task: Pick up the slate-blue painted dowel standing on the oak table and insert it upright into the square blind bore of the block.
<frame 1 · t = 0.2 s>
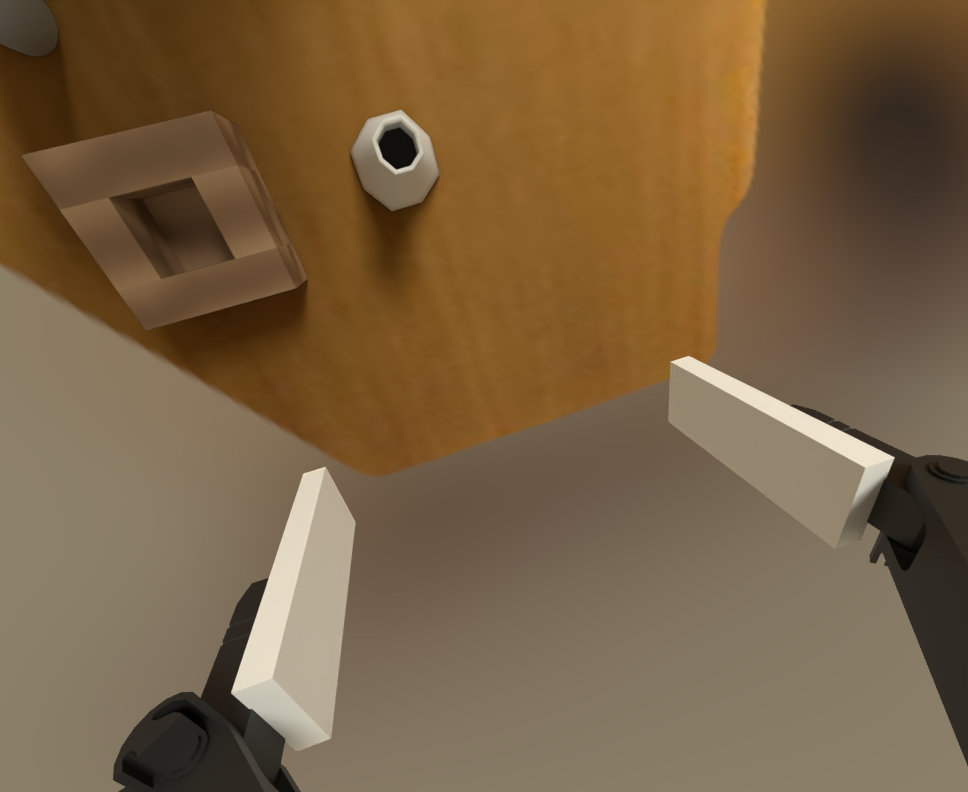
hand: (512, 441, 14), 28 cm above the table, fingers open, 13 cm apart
dowel: (18, 16, 24), on the table
flask: (396, 163, 33), on the table
bore block: (205, 227, 32), on the table
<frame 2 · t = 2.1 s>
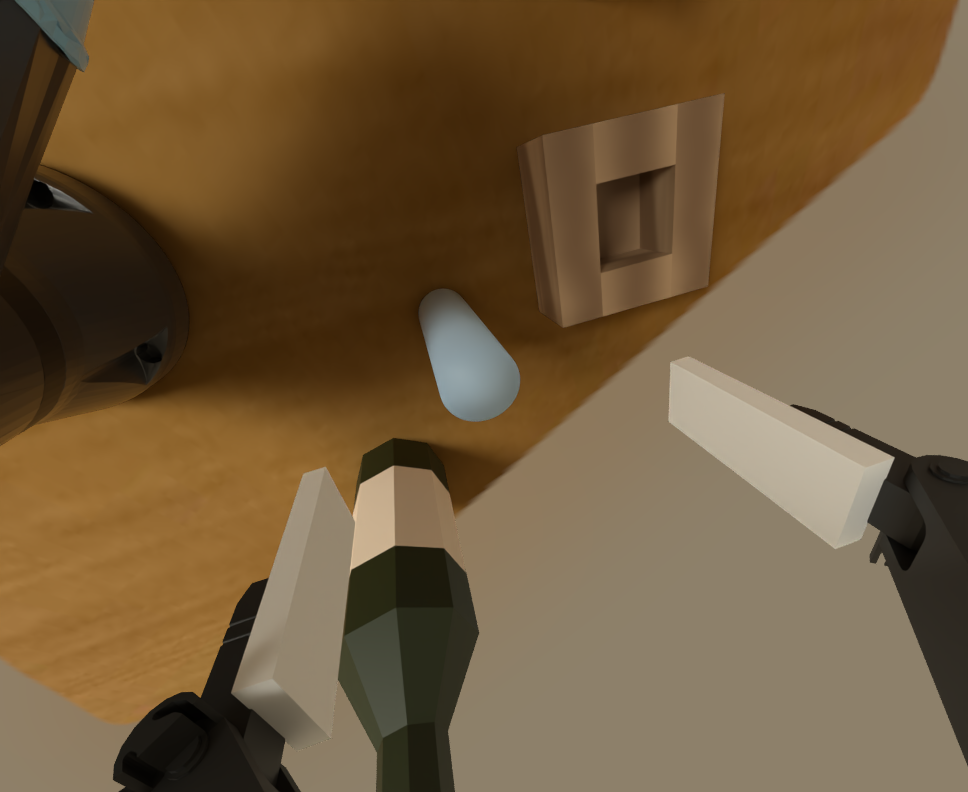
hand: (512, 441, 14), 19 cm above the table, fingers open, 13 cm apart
dowel: (443, 313, 30), on the table
wine bottle: (401, 472, 36), on the table
bore block: (600, 219, 30), on the table
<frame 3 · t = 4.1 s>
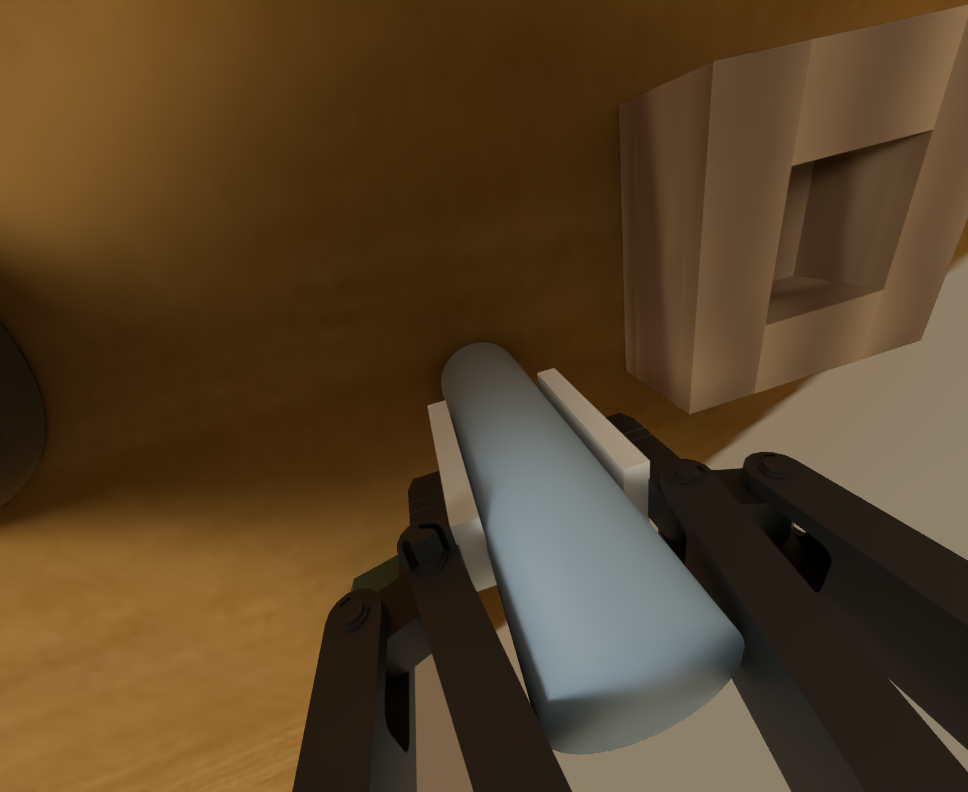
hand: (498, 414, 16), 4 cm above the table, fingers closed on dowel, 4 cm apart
dowel: (480, 380, 19), on the table, touching gripper
wine bottle: (409, 594, 25), on the table
bore block: (735, 229, 18), on the table
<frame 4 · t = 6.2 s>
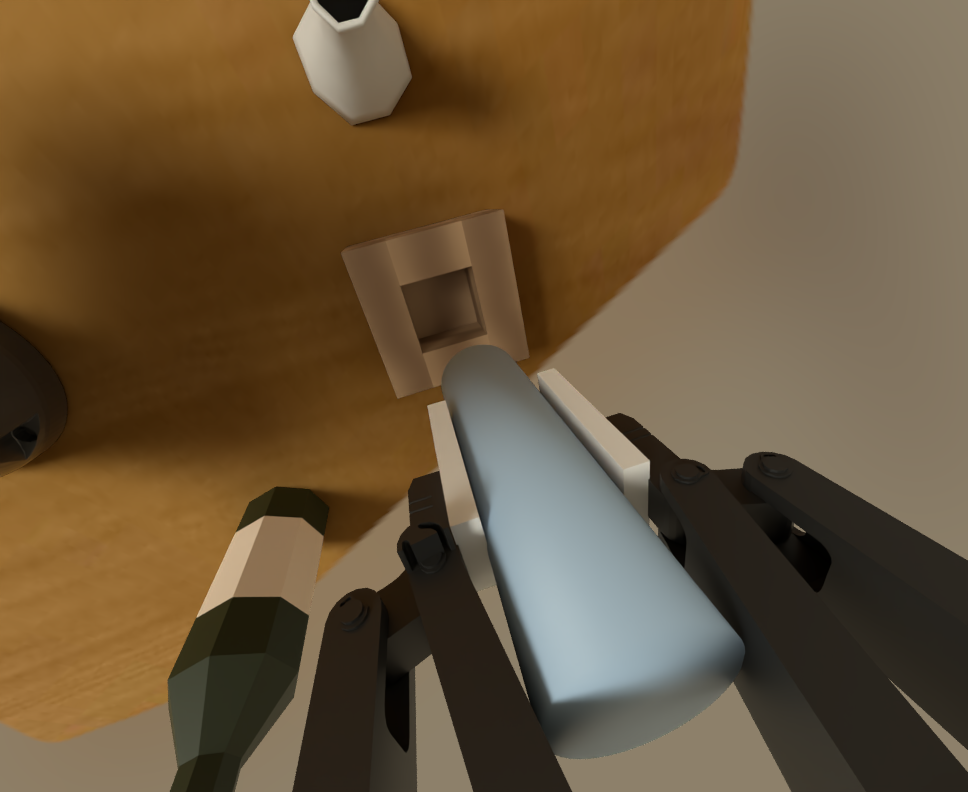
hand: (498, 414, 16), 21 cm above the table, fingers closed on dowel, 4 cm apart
dowel: (480, 382, 19), point 17 cm above the table, touching gripper
flask: (355, 60, 26), on the table
wine bottle: (289, 514, 40), on the table
bore block: (438, 298, 34), on the table
when the fingers open (6 cm above the table, at t = 8.4 s): dowel drops 1 cm, resting on bore block.
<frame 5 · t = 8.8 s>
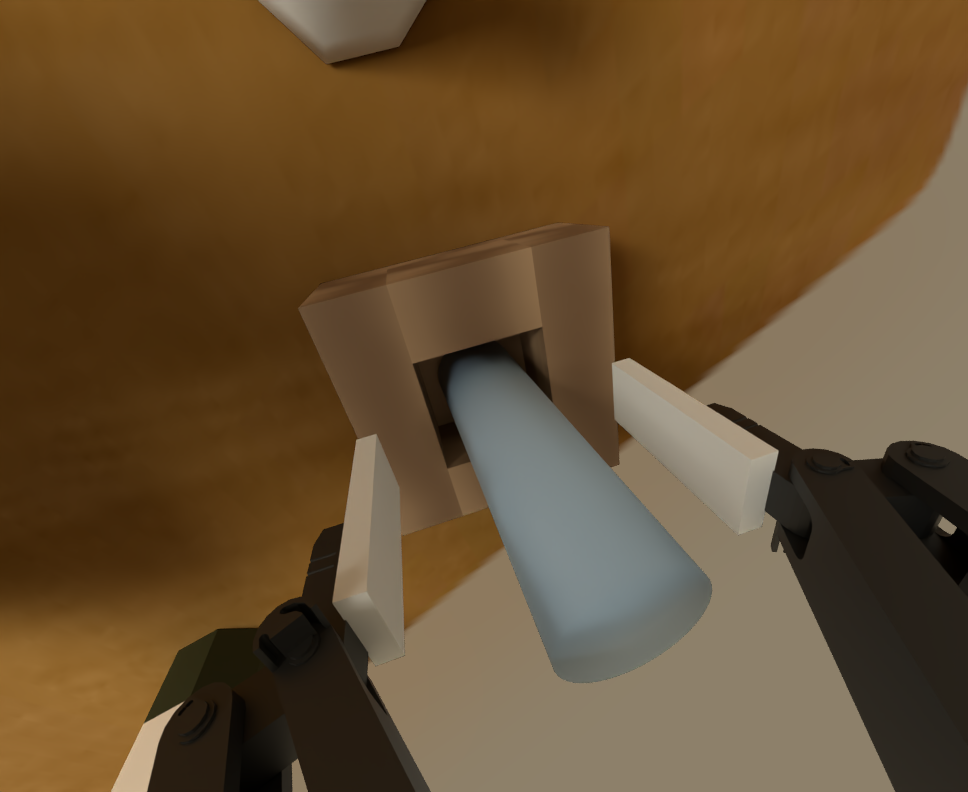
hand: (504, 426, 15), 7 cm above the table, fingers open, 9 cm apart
dowel: (474, 371, 20), point 1 cm above the table, touching bore block
wine bottle: (241, 659, 28), on the table
bore block: (470, 362, 21), on the table
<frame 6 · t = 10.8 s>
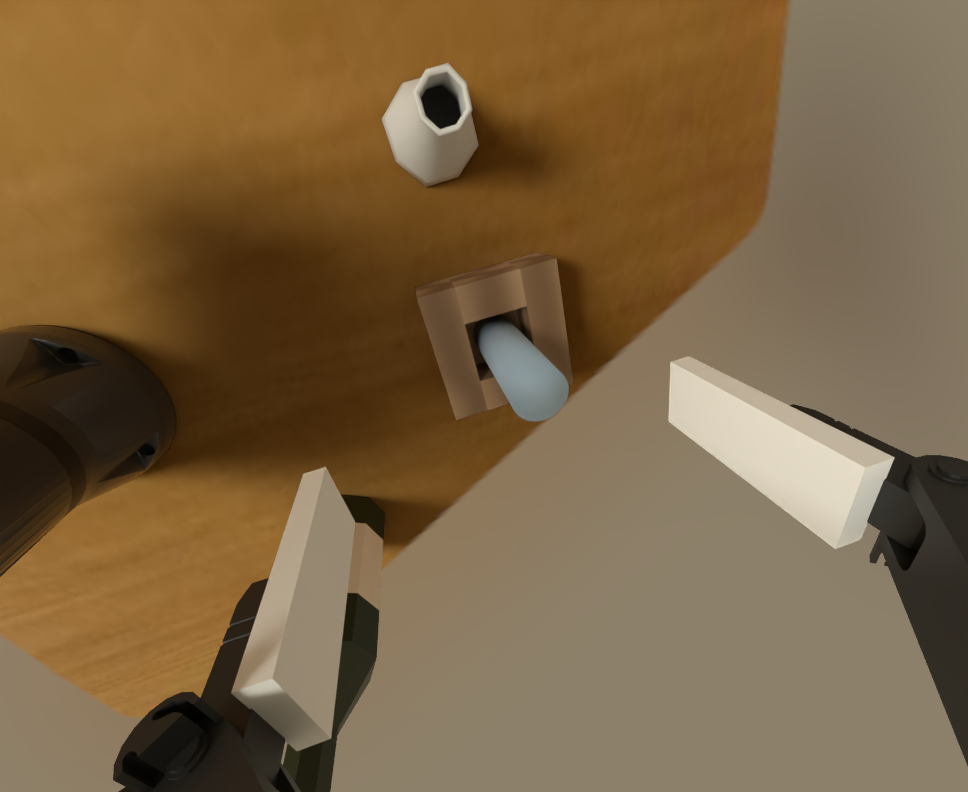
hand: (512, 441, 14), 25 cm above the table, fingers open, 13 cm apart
dowel: (493, 333, 37), point 1 cm above the table, touching bore block
flask: (431, 133, 30), on the table
wine bottle: (350, 519, 45), on the table
bore block: (490, 329, 38), on the table
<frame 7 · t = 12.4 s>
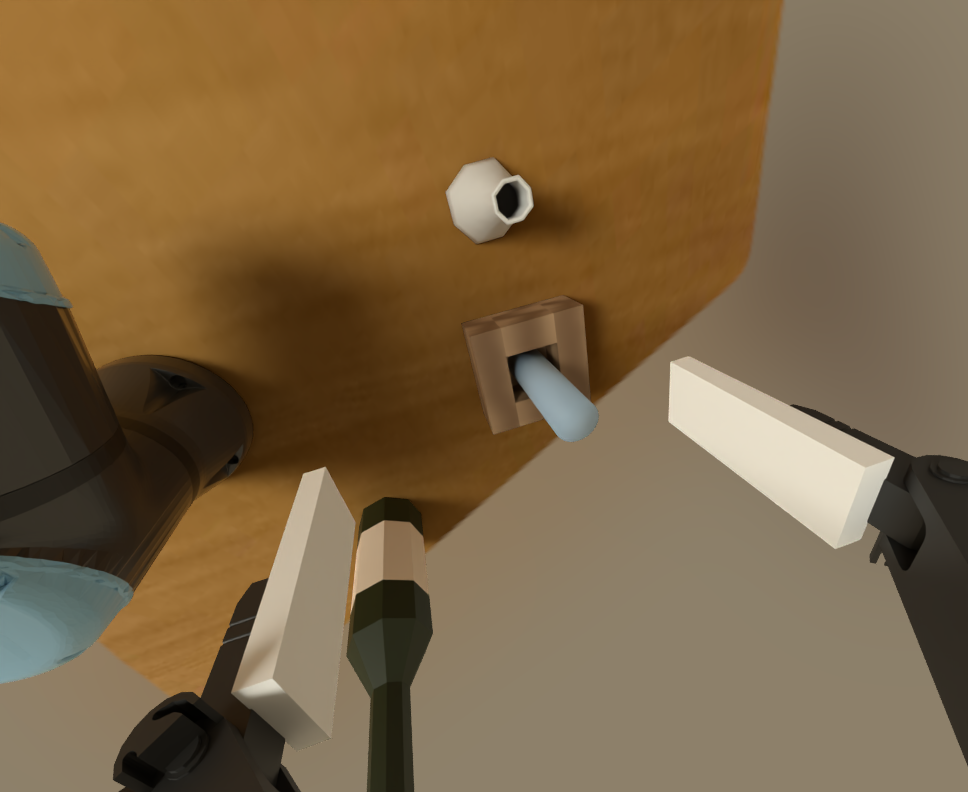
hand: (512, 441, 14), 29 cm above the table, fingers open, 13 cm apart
dowel: (524, 361, 44), point 1 cm above the table, touching bore block
flask: (483, 202, 36), on the table
wine bottle: (390, 519, 51), on the table
bore block: (521, 357, 44), on the table
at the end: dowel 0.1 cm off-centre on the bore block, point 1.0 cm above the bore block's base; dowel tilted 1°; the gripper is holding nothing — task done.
